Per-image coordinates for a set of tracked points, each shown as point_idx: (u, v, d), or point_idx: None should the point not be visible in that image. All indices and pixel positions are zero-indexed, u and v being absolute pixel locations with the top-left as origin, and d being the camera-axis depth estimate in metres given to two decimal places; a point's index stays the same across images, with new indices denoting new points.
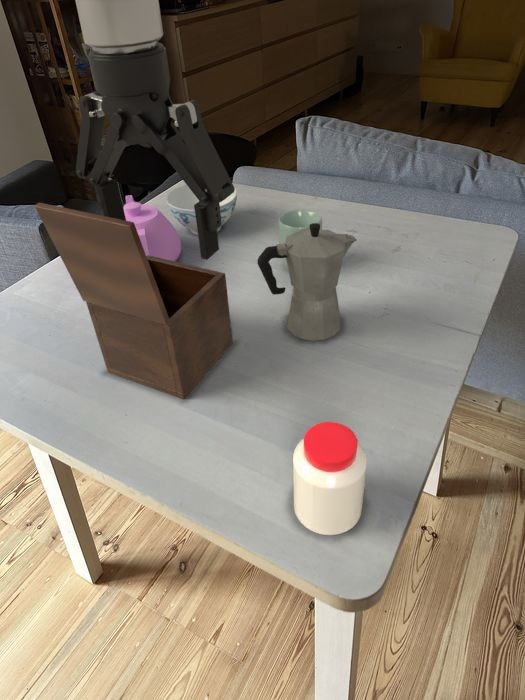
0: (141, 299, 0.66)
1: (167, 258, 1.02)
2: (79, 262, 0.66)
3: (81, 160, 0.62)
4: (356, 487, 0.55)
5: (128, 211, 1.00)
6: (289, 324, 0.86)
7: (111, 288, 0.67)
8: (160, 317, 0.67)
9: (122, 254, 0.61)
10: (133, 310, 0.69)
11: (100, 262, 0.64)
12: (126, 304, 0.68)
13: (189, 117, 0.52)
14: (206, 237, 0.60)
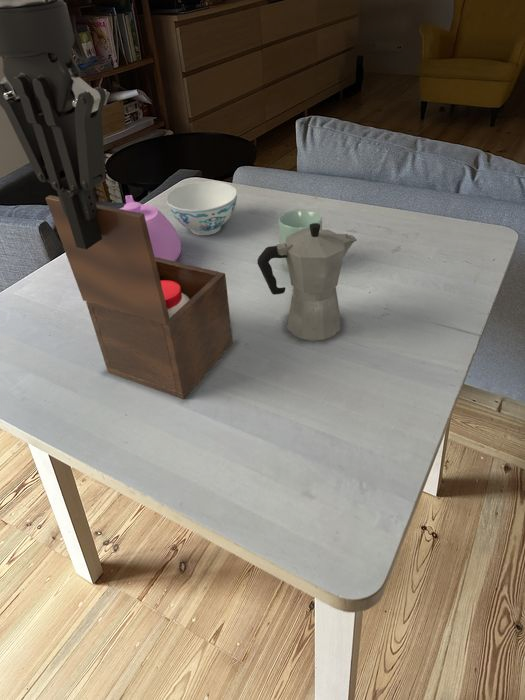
0: (143, 296, 0.66)
1: (167, 258, 1.02)
2: (84, 258, 0.67)
3: (32, 159, 0.56)
4: None
5: None
6: (289, 324, 0.86)
7: (113, 285, 0.67)
8: (161, 316, 0.67)
9: (129, 247, 0.61)
10: (134, 309, 0.69)
11: (105, 257, 0.65)
12: (127, 303, 0.68)
13: (90, 108, 0.49)
14: (82, 226, 0.59)
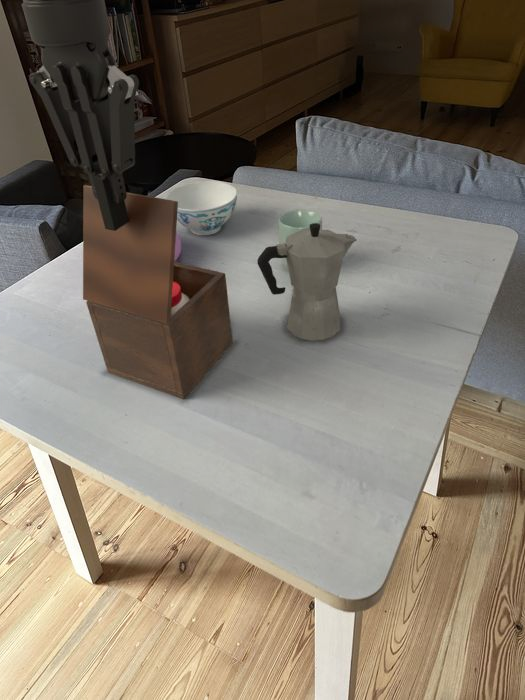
0: (151, 291, 0.67)
1: None
2: (101, 249, 0.69)
3: (66, 144, 0.59)
4: None
5: None
6: (289, 324, 0.86)
7: (123, 279, 0.69)
8: (163, 313, 0.67)
9: (153, 235, 0.65)
10: (136, 307, 0.69)
11: (124, 247, 0.67)
12: (131, 299, 0.69)
13: (124, 94, 0.52)
14: (112, 208, 0.62)
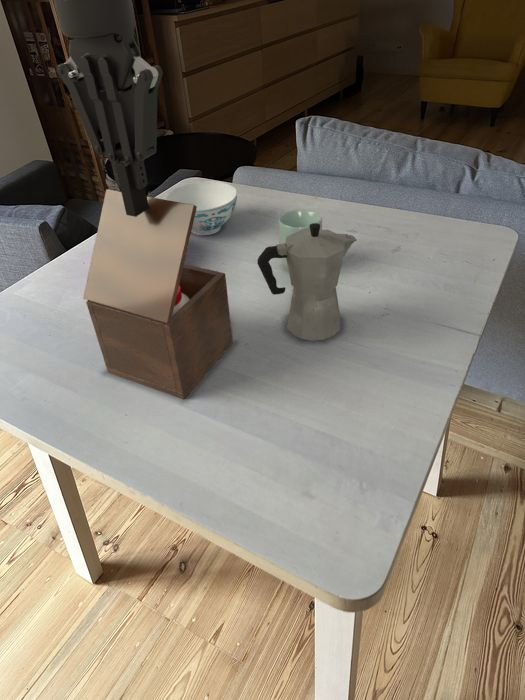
0: (156, 289, 0.68)
1: None
2: (112, 249, 0.71)
3: (90, 133, 0.62)
4: None
5: None
6: (289, 324, 0.86)
7: (129, 278, 0.70)
8: (165, 312, 0.67)
9: (167, 235, 0.67)
10: (137, 306, 0.69)
11: (136, 247, 0.69)
12: (134, 298, 0.69)
13: (149, 84, 0.55)
14: (133, 195, 0.65)
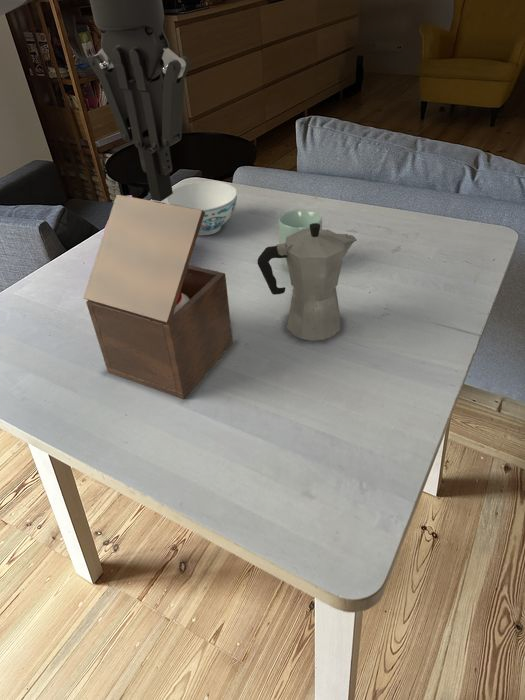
0: (159, 290, 0.68)
1: None
2: (117, 250, 0.72)
3: (119, 121, 0.65)
4: None
5: None
6: (289, 324, 0.86)
7: (131, 279, 0.70)
8: (166, 312, 0.68)
9: (174, 238, 0.69)
10: (138, 305, 0.69)
11: (142, 249, 0.70)
12: (135, 298, 0.70)
13: (177, 74, 0.58)
14: (159, 181, 0.68)
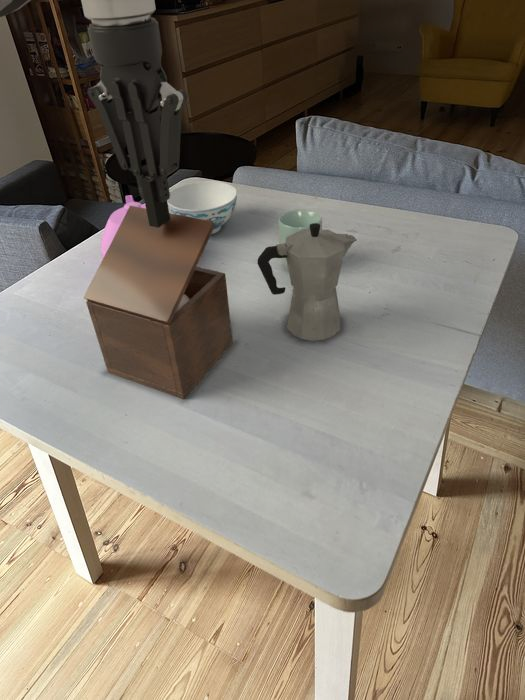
0: (162, 291, 0.69)
1: None
2: (124, 255, 0.73)
3: (118, 150, 0.67)
4: None
5: None
6: (289, 324, 0.86)
7: (136, 281, 0.71)
8: (167, 312, 0.68)
9: (182, 245, 0.71)
10: (139, 305, 0.69)
11: (149, 254, 0.72)
12: (137, 298, 0.70)
13: (175, 107, 0.60)
14: (156, 208, 0.70)
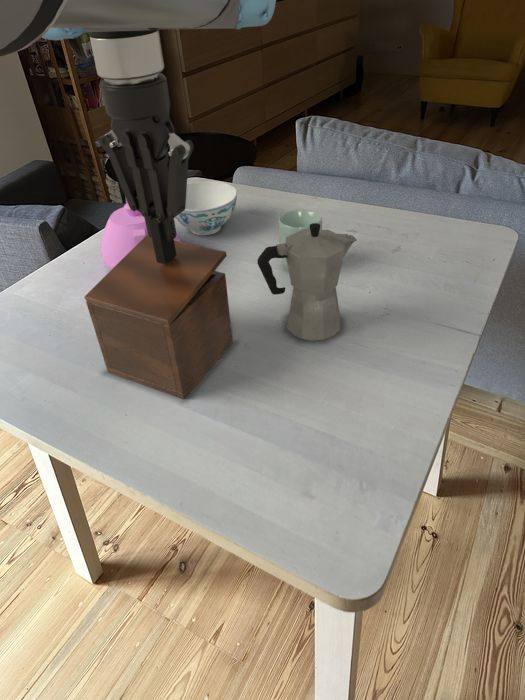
0: (167, 297, 0.70)
1: None
2: (134, 268, 0.76)
3: (127, 193, 0.70)
4: None
5: (128, 211, 1.00)
6: (289, 324, 0.86)
7: (141, 288, 0.73)
8: (169, 313, 0.68)
9: (193, 266, 0.74)
10: (141, 306, 0.70)
11: (159, 269, 0.75)
12: (140, 301, 0.71)
13: (182, 157, 0.63)
14: (164, 246, 0.73)
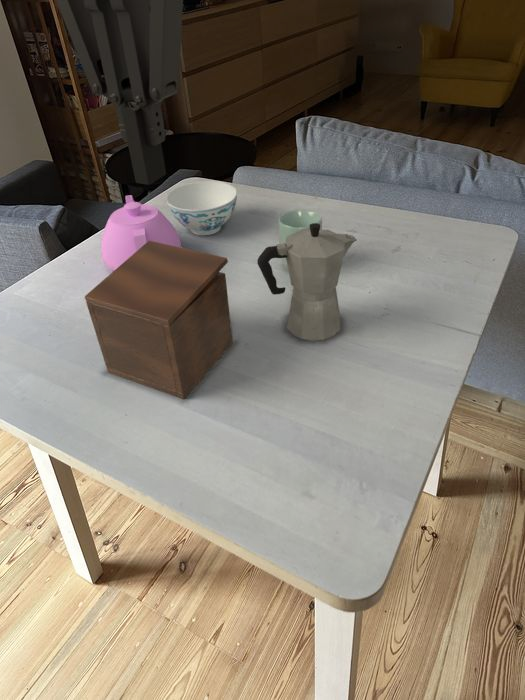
0: (167, 299, 0.71)
1: None
2: (135, 271, 0.76)
3: (87, 64, 0.44)
4: None
5: (128, 211, 1.00)
6: (289, 324, 0.86)
7: (142, 289, 0.73)
8: (169, 314, 0.68)
9: (194, 270, 0.75)
10: (142, 307, 0.70)
11: (160, 273, 0.75)
12: (140, 302, 0.71)
13: None
14: (146, 154, 0.47)
